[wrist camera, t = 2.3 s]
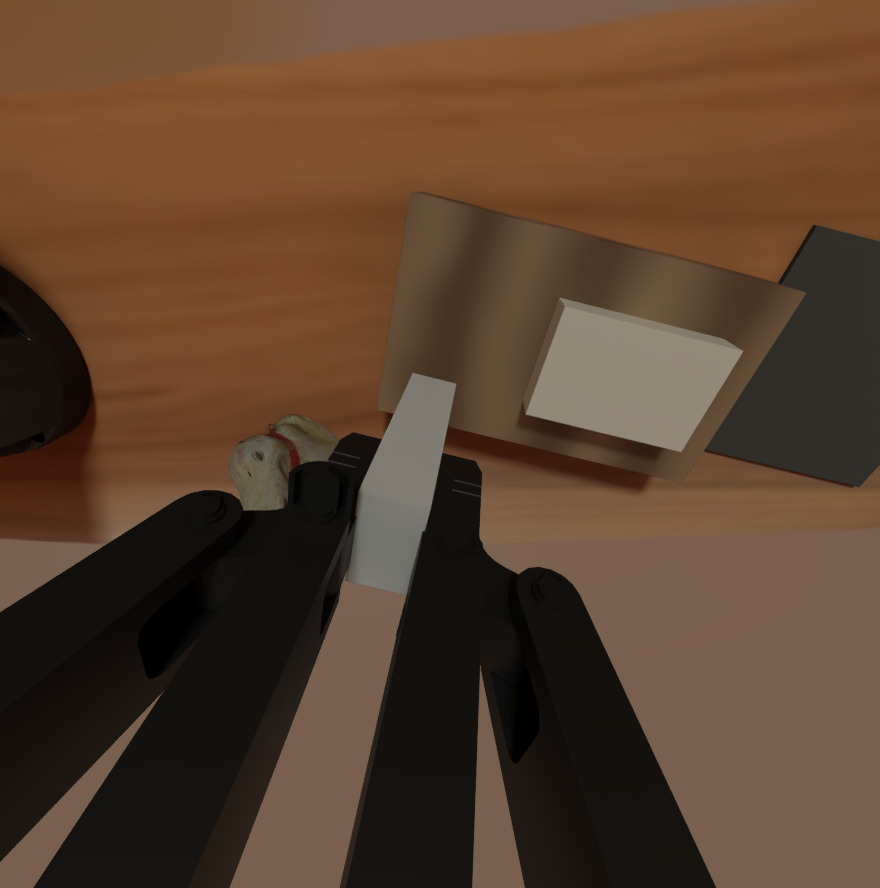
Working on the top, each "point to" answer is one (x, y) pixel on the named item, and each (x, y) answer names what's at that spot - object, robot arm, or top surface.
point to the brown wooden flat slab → (529, 315)
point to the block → (626, 375)
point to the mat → (818, 370)
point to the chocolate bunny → (277, 460)
